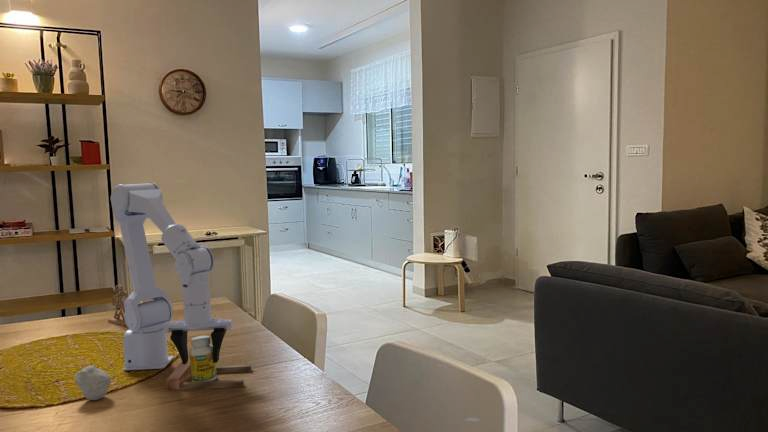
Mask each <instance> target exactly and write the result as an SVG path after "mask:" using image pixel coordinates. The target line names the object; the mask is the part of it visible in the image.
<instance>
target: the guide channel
mask: <svg viewBox="0 0 768 432" xmlns="http://www.w3.org/2000/svg"><path fill="white" fill-rule="evenodd" d="M251 371H252V364H238V365H237V364H236V365H216V372H217V374H221V373H222V374H226V373H247V372H251ZM191 376H192V374H191V364H190V361H188V362H187V363H186V364H182V361H181V362H180V363H179V365H177V366H176V368H175V369H174V370H173V371H172V372H171V374H170V375H169V376H168V377H167V379H166V386H167V391H185V390H186V391H187V390H206V389H209V390H210V389H226V388H228V389H229V388H230V387H231V388H243V387H244V386H245V385H244V384H245V379H227V380H226V379H225V380H223V379H221V380H213V381H200V382H193V381H187V380H188V379H189V378H190V377H191Z"/></svg>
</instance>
